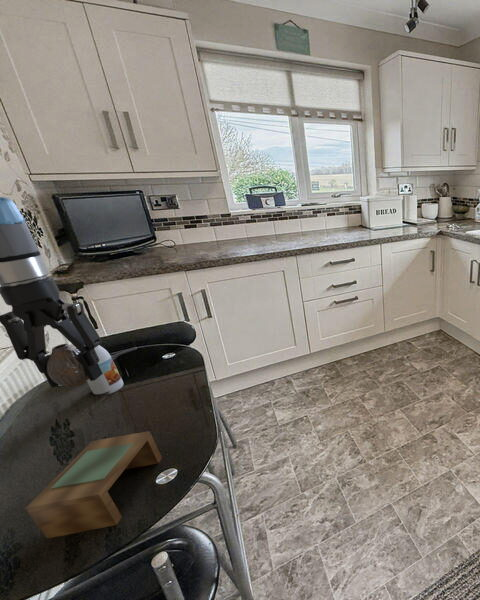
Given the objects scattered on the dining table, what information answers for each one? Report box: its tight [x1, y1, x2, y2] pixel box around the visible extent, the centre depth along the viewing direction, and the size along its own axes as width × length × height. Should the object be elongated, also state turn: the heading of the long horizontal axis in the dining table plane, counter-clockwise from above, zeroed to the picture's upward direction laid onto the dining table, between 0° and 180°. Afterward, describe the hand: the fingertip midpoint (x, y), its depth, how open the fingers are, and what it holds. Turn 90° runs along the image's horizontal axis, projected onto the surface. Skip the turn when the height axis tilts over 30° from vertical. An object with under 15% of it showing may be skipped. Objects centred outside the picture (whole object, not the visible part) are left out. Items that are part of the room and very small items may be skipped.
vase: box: [47, 343, 89, 388], centre depth 70 cm, size 7×7×9 cm
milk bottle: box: [84, 344, 124, 396], centre depth 103 cm, size 8×8×20 cm
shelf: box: [24, 430, 163, 540], centre depth 67 cm, size 12×16×8 cm
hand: (77, 380), depth 71 cm, fingers closed on vase, 7 cm apart
